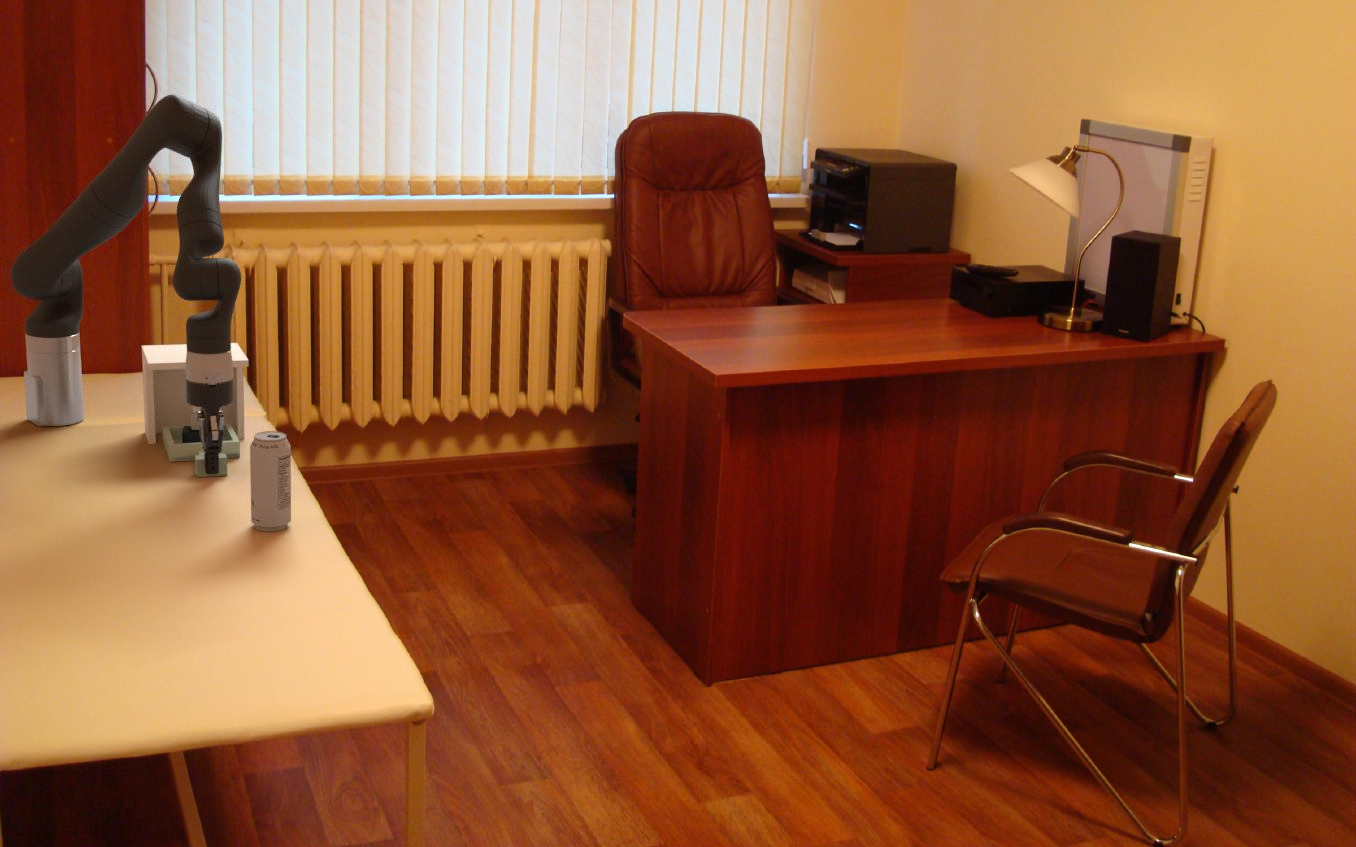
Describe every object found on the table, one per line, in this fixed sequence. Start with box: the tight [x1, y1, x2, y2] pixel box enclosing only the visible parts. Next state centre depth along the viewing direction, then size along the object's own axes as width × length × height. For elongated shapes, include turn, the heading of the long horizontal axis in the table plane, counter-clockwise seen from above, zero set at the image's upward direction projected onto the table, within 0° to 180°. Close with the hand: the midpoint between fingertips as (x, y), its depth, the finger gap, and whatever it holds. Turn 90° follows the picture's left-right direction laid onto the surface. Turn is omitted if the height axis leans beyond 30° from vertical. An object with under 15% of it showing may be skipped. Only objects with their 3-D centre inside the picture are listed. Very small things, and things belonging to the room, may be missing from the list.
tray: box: [162, 423, 241, 478], centre depth 230 cm, size 22×12×3 cm, turn 27°
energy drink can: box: [249, 430, 292, 532], centre depth 200 cm, size 6×6×15 cm
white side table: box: [141, 342, 250, 445], centre depth 238 cm, size 14×17×17 cm
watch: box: [182, 395, 201, 443], centre depth 233 cm, size 6×8×11 cm
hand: (211, 472), depth 220 cm, fingers closed
